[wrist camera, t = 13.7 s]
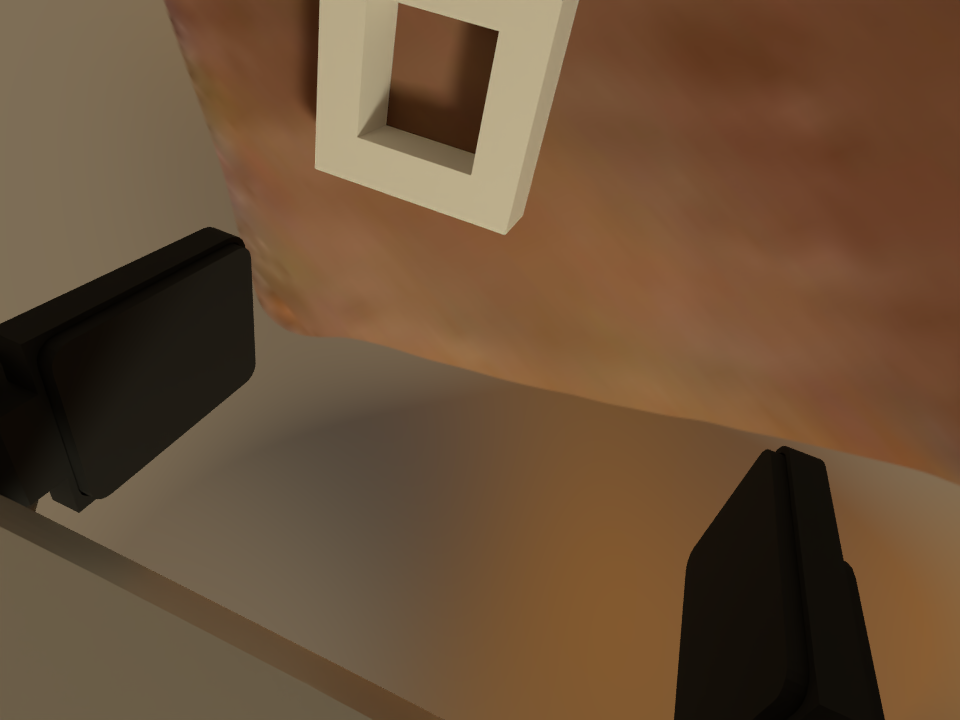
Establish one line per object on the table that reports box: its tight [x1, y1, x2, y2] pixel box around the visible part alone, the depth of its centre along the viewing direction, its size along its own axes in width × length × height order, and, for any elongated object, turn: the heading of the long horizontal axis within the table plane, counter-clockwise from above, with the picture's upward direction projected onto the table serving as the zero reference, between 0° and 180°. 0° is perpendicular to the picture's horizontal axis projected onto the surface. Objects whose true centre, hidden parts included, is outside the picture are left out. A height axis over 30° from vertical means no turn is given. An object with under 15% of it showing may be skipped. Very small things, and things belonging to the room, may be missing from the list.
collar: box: [315, 0, 579, 235], centre depth 36 cm, size 14×14×4 cm
